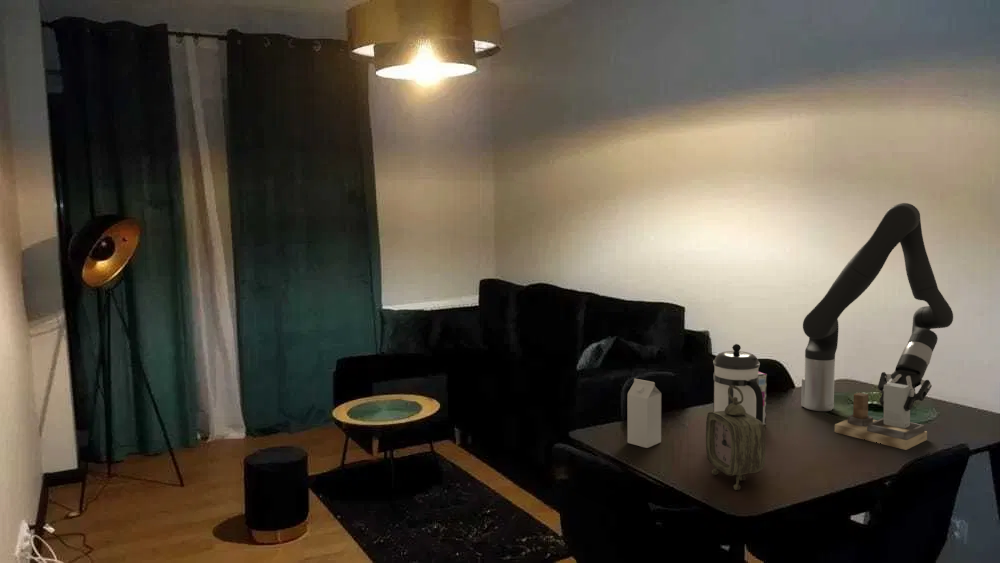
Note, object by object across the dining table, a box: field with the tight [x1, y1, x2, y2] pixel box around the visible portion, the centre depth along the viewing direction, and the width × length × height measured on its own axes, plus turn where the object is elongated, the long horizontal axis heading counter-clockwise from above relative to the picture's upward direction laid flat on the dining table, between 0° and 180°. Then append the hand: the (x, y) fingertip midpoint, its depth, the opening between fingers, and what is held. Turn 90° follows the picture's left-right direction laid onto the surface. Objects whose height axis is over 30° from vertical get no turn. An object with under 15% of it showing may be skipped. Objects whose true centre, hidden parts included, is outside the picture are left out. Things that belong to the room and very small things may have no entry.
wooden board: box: [834, 392, 928, 451], centre depth 224 cm, size 21×13×12 cm, turn 38°
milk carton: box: [626, 378, 662, 449], centre depth 223 cm, size 7×7×19 cm
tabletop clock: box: [705, 386, 767, 491], centre depth 192 cm, size 14×9×25 cm, turn 13°
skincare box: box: [883, 382, 911, 428], centre depth 220 cm, size 6×4×12 cm
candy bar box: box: [758, 370, 768, 426], centre depth 241 cm, size 11×5×16 cm, turn 16°
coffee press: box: [712, 343, 763, 423], centre depth 217 cm, size 17×16×30 cm
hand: (894, 407), depth 219 cm, fingers closed on skincare box, 6 cm apart
